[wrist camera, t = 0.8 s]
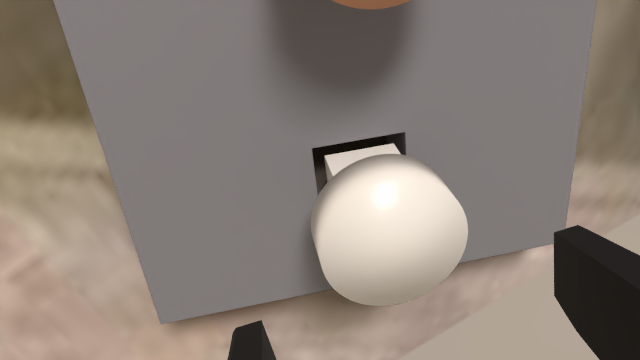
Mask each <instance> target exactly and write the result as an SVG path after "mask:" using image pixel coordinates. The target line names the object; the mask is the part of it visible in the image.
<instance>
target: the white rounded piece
mask: <svg viewBox="0 0 640 360" xmlns="http://www.w3.org/2000/svg"><path fill="white" fill-rule="evenodd" d="M324 158H325V166H326V175H327V184H326V185H325V186H324V188H323V189H322V190H321V192H320V194H319V195H318V197H317V199H316V201H315V204H314V206H313V210H312V214H311V232H312V237H313V241H314V244H315V247H316V251H317V254H318V257H319V261H320V264H321V267H322V270H323V273H324V275H325V277H326V279H327V281H328V282H329V284H330V285H331V286H332V287H333V288H334V290H336V291H337V292H338V293H339V294H340V295H342V296H344V297H345V298H347V299H349V300H351V301H354V302H357V303H360V304H364V305H370V306H390V305H396V304H401V303H404V302H408V301H411V300H413V299H416V298H418V297H420V296H422V295H424V294H426V293H428V292H429V291H431V290H433V289H434V288H435V287H437V286H438V285H439V284H440V283H442V282H443V281H444V280H445V279H446V278H447V277H448V276H449V275H450V274H451V272H452V271H453V270H454V269H455V267H456V266H457V264H458V263H459V261H460V259H461V257H462V255H463V253H464V250H465V247H466V243H467V238H468V223H467V219H466V215H465V213H464V210H463V208H462V207H461V205H460V203H459V202H458V200H457V199H456V198H455V197H454V195H453V194H452V193H451V191H450V190H449V189H448V187H447V186H446V185H445V183H444V182H443V181H442V179H441V178H440V177H439V175H438V174H437V173H436V172H435V171H434V170H433V169H432V168H431V167H430V166H429V165H427V164H426V163H424V162H422V161H421V160H418V159H416V158H414V157H410V156H407V155H401V154H400V152H399V151H398V149H397V148H396V146H395V145H394V143H392V144H387V145H381V146H375V147H370V148H364V149H359V150H353V151H347V152H342V153H336V154H331V155H325V156H324Z"/></svg>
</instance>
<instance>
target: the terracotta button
mask: <svg viewBox="0 0 640 360" xmlns="http://www.w3.org/2000/svg"><path fill="white" fill-rule="evenodd" d="M332 1H334V2H336V3H339V4H342V5H345V6H348V7H353V8H358V9H384V8H389V7H393V6H397V5H400V4H403V3H405V2H408V1H410V0H332Z"/></svg>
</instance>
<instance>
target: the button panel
mask: <svg viewBox="0 0 640 360" xmlns="http://www.w3.org/2000/svg"><path fill="white" fill-rule="evenodd" d="M53 1H54V4H55V7H56V10H57V13H58V16H59V19H60V22H61V25H62V28H63V31H64V34H65V37H66V40H67V43H68V46H69V49H70V52H71V55H72V58H73V61H74V64H75V67H76V70H77V73H78V76H79V79H80V82H81V85H82V88H83V91H84V94H85V97H86V100H87V103H88V106H89V109H90V113H91V116H92V119H93V122H94V125H95V128H96V131H97V134H98V137H99V140H100V143H101V146H102V149H103V152H104V155H105V158H106V161H107V164H108V167H109V170H110V173H111V176H112V179H113V182H114V185H115V188H116V191H117V194H118V197H119V200H120V203H121V206H122V209H123V212H124V215H125V218H126V221H127V224H128V227H129V230H130V233H131V236H132V239H133V242H134V245H135V248H136V251H137V254H138V257H139V260H140V263H141V266H142V269H143V272H144V275H145V278H146V281H147V284H148V287H149V290H150V293H151V296H152V299H153V302H154V305H155V308H156V311H157V314H158V317H159V321H160V324H164V323H169V322H174V321H179V320H184V319H189V318H194V317H199V316H203V315H208V314H213V313H218V312H223V311H228V310H233V309H238V308H243V307H247V306H252V305H257V304H262V303H267V302H272V301H277V300H282V299H286V298H291V297H296V296H301V295H306V294H311V293H316V292H321V291H325V290H330V289H334V288H333V287H332V286H331V285H330V284H329V282H328V281H327V279H326V277H325V275H324V273H323V270H322V267H321V264H320V261H319V257H318V254H317V251H316V247H315V244H314V241H313V237H312V232H311V214H312V210H313V206H314V204H315V201H316V199H317V197H318V195H319V194H320V192H321V191H317V186H316V178H315V170H314V162H313V154H312V148H317V147H323V146H328V145H334V144H340V143H345V142H351V141H357V140H362V139H368V138H373V137H379V136H385V135H386V142H387V144H392V143H394V145H395V146H396V148H397V149H398V151H399V152H400V154H401V155H407V156H410V157H414V158H416V159H418V160H421V161H422V162H424V163H426V164H427V165H429V166H430V167H431V168H432V169H433V170H434V171H435V172H436V173H437V174H438V175H439V177H440V178H441V179H442V181H443V182H444V183H445V185H446V186H447V187H448V189H449V190H450V191H451V193H452V194H453V195H454V197H455V198H456V199H457V200H458V202H459V203H460V205H461V207H462V208H463V210H464V213H465V215H466V219H467V223H468V238H467V243H466V247H465V250H464V253H463V255H462V257H461V259H460V261H459V263H462V262H467V261H472V260H477V259H482V258H487V257H491V256H496V255H501V254H506V253H511V252H516V251H521V250H526V249H531V248H535V247H540V246H545V245H550V244H554V232H557V231H560V230H563V229H565V227H566V220H567V213H568V205H569V198H570V191H571V184H572V176H573V169H574V162H575V155H576V147H577V140H578V133H579V126H580V118H581V111H582V104H583V97H584V89H585V82H586V75H587V67H588V60H589V53H590V46H591V38H592V31H593V24H594V17H595V9H596V2H597V0H410V1H408V2H405V3H403V4H400V5H397V6H393V7H389V8H384V9H358V8H353V7H348V6H345V5H342V4H339V3H336V2H334V1H332V0H53Z"/></svg>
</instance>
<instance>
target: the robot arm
mask: <svg viewBox="0 0 640 360" xmlns="http://www.w3.org/2000/svg"><path fill="white" fill-rule="evenodd" d="M554 296H555V297H556V299H557V301H558V302H559V304H560V306H561V307H562V309H563V310H564V312H565V314H566V315H567V317H568V318H569V320H570V321H571V323H572V325H573V326H574V328H575V329H576V331H577V332H578V333H579V335H580V336H581V337H582V338H583V340H584V341H585V342H586V343H587V345H588V346H589V347H590V348H591V350H592V351H593V352H594V353H595V355H597V357H598V358H599V359H600V360H640V256H639V255H638V254H635V253H633V252H631V251H629V250H627V249H625V248H623V247H621V246H619V245H617V244H615V243H613V242H611V241H609V240H607V239H605V238H603V237H601V236H599V235H597V234H595V233H593V232H591V231H589V230H587V229H585V228H583V227H581V226H579V225H577V226H573V227H570V228H567V229H563V230H560V231H557V232H554ZM228 360H276V357H275V355H274V352H273V350H272V347H271V344H270V342H269V339H268V336H267V334H266V331H265V328H264V326H263V323H262V321H257V322H254V323H251V324H247V325H244V326H241V327H237V328H236V329H235V330H234V332H233V335H232V341H231V346H230V351H229V356H228Z"/></svg>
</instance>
